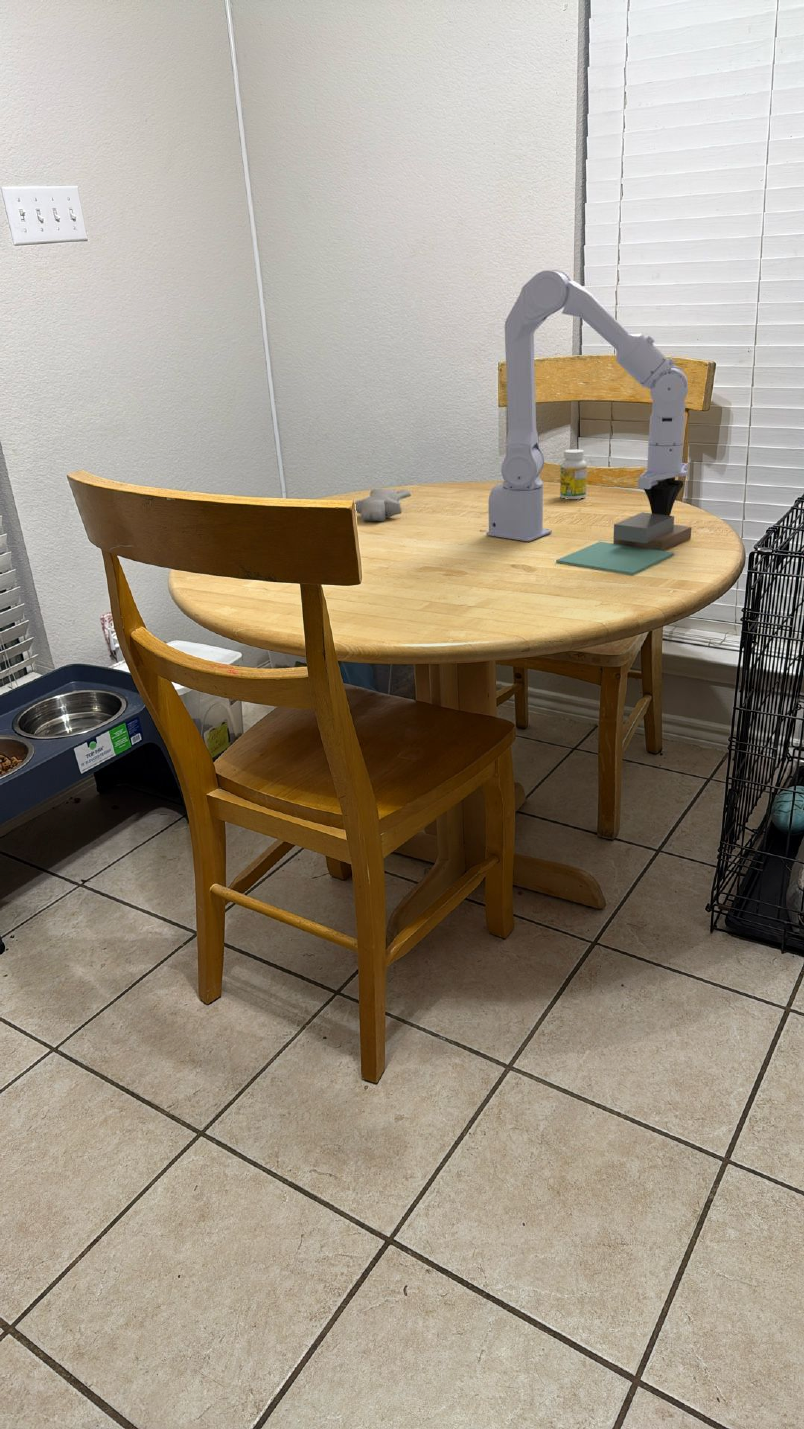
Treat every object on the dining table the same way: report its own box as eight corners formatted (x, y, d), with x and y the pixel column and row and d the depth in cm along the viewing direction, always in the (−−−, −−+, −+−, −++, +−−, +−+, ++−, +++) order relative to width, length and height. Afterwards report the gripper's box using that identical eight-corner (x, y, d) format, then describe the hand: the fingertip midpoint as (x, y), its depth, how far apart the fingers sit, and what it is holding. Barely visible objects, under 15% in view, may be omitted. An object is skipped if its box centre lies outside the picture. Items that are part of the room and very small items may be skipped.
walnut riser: (613, 545, 168) (613, 533, 167) (643, 531, 175) (644, 520, 174) (661, 552, 162) (662, 540, 161) (690, 538, 170) (691, 526, 169)
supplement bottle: (590, 498, 203) (592, 451, 199) (568, 501, 201) (569, 453, 197) (577, 493, 207) (578, 447, 203) (555, 496, 206) (556, 450, 202)
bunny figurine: (346, 503, 190) (371, 479, 202) (349, 528, 193) (373, 503, 205) (392, 504, 187) (414, 480, 199) (394, 529, 190) (416, 504, 202)
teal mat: (556, 562, 159) (556, 560, 159) (599, 543, 169) (599, 541, 169) (632, 575, 151) (633, 572, 151) (674, 554, 160) (674, 552, 160)
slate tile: (613, 538, 164) (614, 524, 163) (641, 526, 171) (642, 512, 170) (645, 543, 160) (646, 528, 159) (673, 530, 167) (674, 516, 166)
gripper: (667, 451, 156) (662, 534, 162) (706, 438, 166) (700, 517, 172) (628, 448, 161) (624, 529, 166) (668, 436, 171) (663, 512, 176)
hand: (660, 523), depth 169 cm, fingers closed
